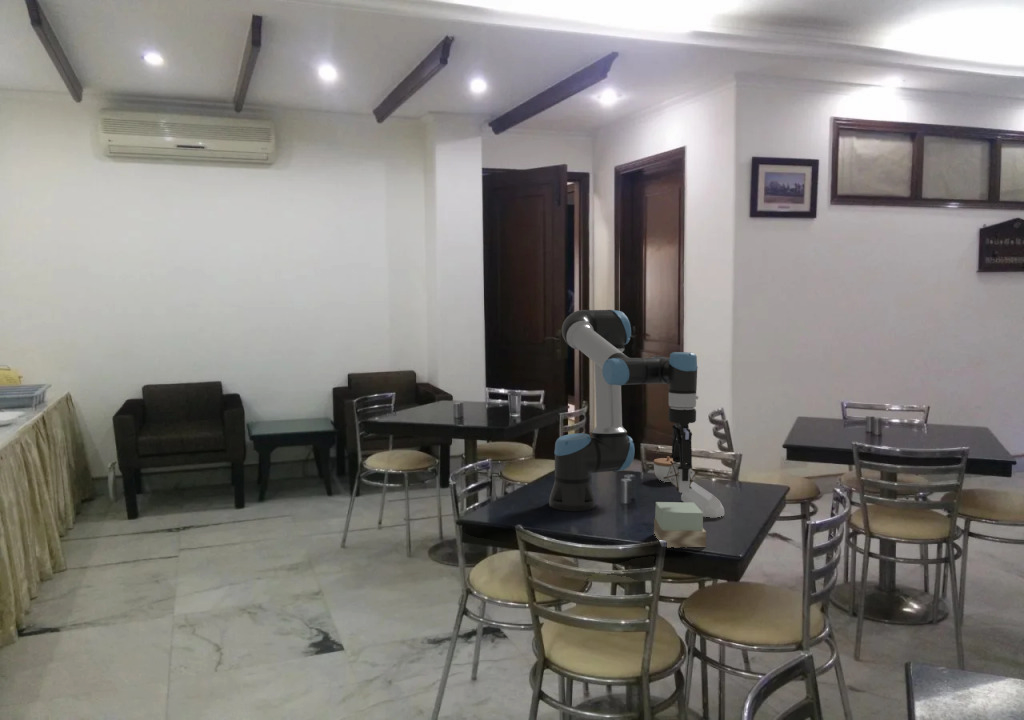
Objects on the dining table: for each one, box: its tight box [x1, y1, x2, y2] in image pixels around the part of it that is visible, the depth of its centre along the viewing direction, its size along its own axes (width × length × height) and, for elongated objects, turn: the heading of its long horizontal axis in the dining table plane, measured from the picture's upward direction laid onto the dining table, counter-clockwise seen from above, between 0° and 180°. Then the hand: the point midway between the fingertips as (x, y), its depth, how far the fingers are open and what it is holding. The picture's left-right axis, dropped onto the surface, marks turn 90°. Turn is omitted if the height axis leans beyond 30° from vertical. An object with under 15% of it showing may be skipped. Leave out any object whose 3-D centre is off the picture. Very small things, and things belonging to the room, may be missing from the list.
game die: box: [664, 461, 699, 492], centre depth 210 cm, size 9×8×10 cm
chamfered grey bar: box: [680, 481, 725, 519], centre depth 245 cm, size 7×7×24 cm
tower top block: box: [654, 501, 704, 531], centre depth 211 cm, size 11×11×5 cm
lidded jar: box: [653, 456, 674, 483], centre depth 284 cm, size 11×11×9 cm
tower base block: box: [653, 518, 707, 549], centre depth 211 cm, size 12×12×5 cm
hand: (680, 488), depth 210 cm, fingers closed on game die, 8 cm apart
